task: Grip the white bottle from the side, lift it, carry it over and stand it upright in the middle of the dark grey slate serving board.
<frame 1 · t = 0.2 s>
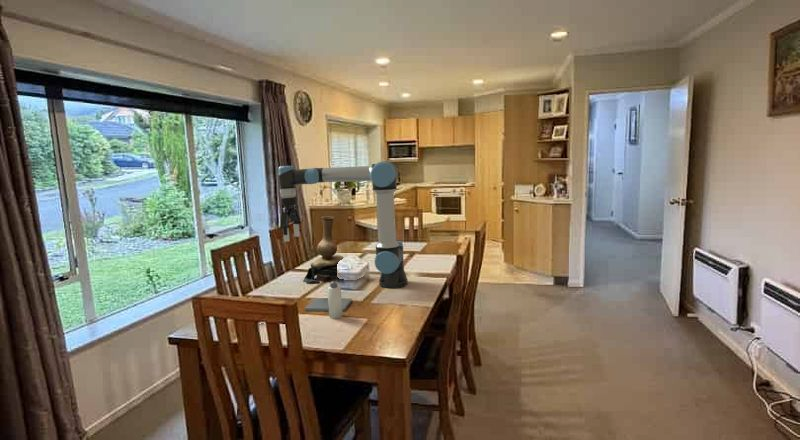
hand: (292, 238, 215), 28 cm above the table, tool pointing down, fingers open, 13 cm apart
white bottle: (335, 316, 182), on the table
vase: (325, 278, 243), on the table
slate board: (329, 305, 196), on the table
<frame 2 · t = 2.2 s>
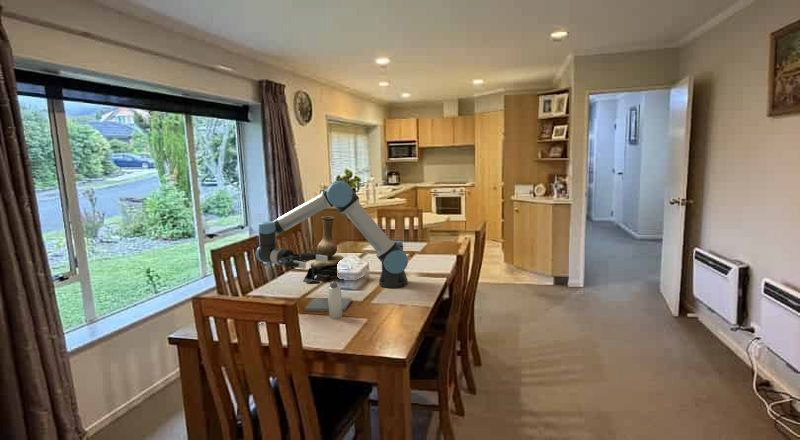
hand: (316, 262, 186), 22 cm above the table, tool horizontal, fingers open, 13 cm apart
nothing on the table moved.
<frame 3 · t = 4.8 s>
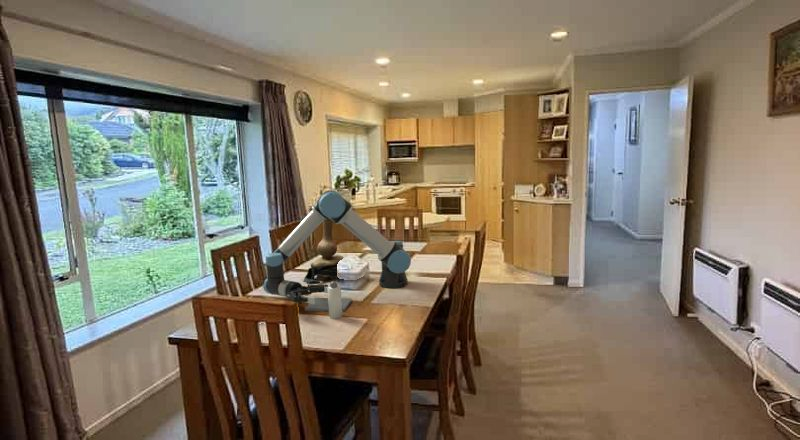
hand: (325, 296, 183), 8 cm above the table, tool horizontal, fingers open, 13 cm apart
nothing on the table moved.
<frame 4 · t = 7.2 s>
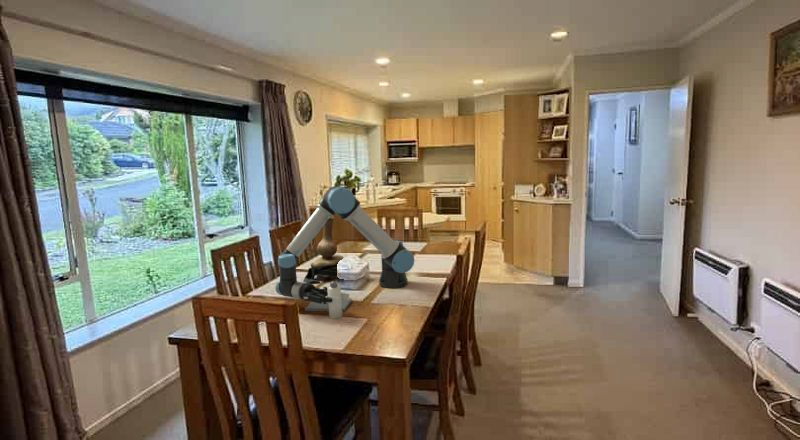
hand: (343, 298, 178), 9 cm above the table, tool horizontal, fingers closed on white bottle, 6 cm apart
white bottle: (335, 316, 182), on the table, touching gripper
everything else where it was.
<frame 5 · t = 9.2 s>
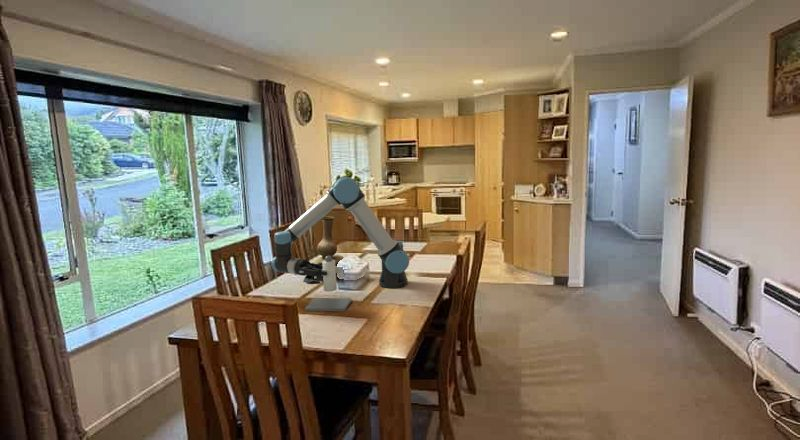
hand: (338, 272, 185), 18 cm above the table, tool horizontal, fingers closed on white bottle, 6 cm apart
white bottle: (330, 289, 189), point 9 cm above the table, touching gripper
everything else where it was.
when the fingers open (11 cm above the table, at t = 11.6 s): white bottle drops 1 cm, resting on slate board.
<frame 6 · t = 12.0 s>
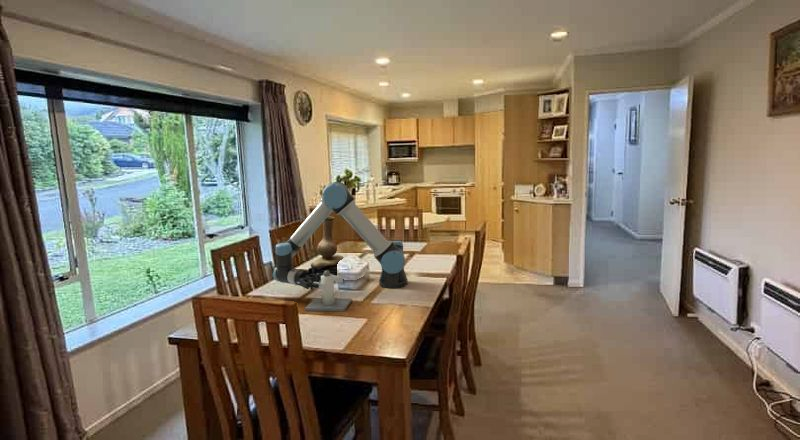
hand: (334, 283, 192), 11 cm above the table, tool horizontal, fingers open, 11 cm apart
white bottle: (328, 303, 195), point 1 cm above the table, touching slate board
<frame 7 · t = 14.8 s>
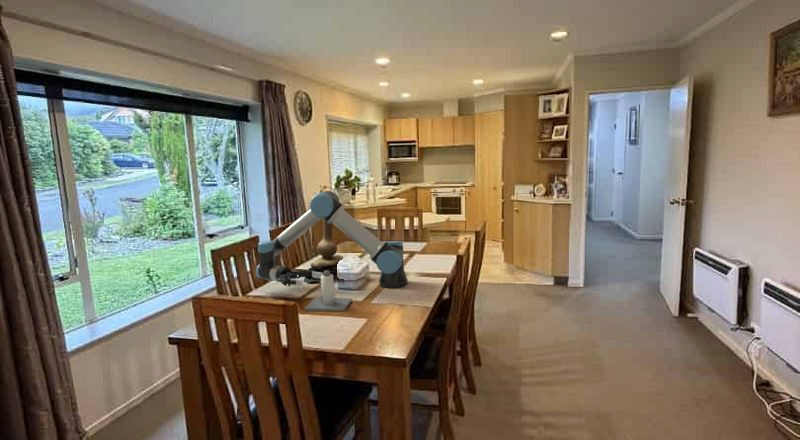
hand: (312, 279, 199), 11 cm above the table, tool horizontal, fingers open, 13 cm apart
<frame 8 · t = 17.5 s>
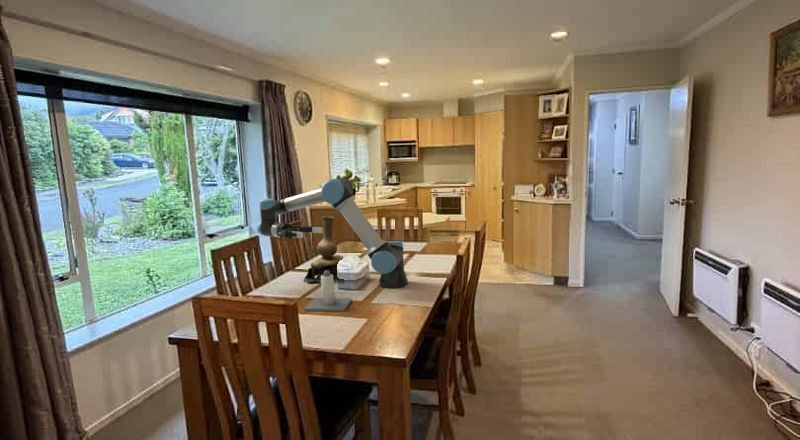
hand: (312, 232, 205), 32 cm above the table, tool horizontal, fingers open, 13 cm apart
at the end: white bottle inside the target area on the slate board (0.1 cm from its centre), point 1.2 cm above the slate board's base; white bottle tilted 0°; the gripper is holding nothing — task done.
